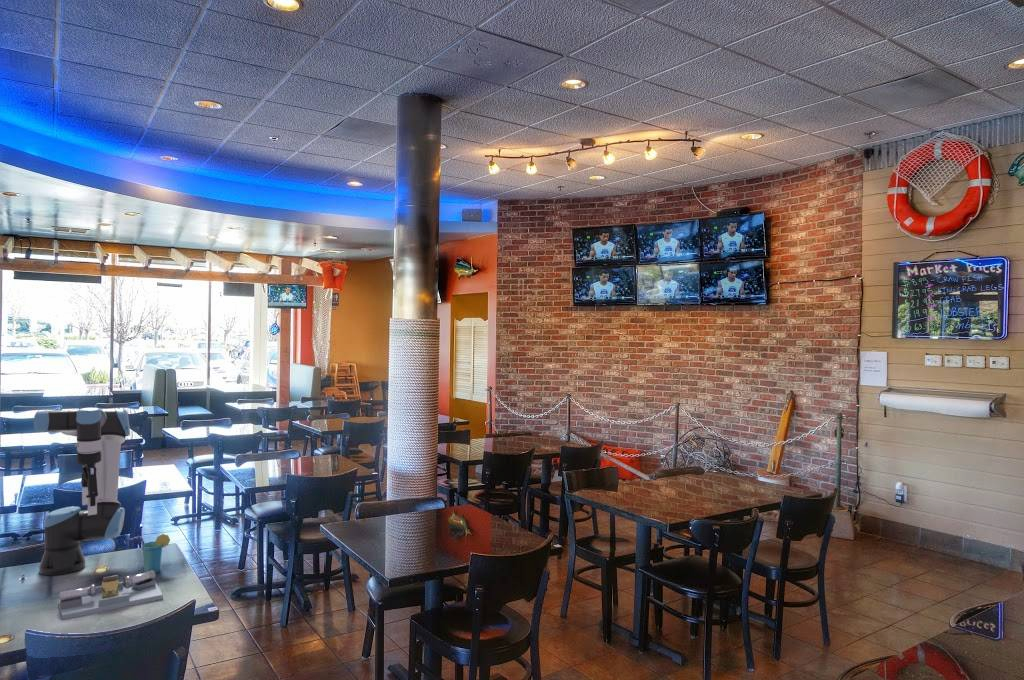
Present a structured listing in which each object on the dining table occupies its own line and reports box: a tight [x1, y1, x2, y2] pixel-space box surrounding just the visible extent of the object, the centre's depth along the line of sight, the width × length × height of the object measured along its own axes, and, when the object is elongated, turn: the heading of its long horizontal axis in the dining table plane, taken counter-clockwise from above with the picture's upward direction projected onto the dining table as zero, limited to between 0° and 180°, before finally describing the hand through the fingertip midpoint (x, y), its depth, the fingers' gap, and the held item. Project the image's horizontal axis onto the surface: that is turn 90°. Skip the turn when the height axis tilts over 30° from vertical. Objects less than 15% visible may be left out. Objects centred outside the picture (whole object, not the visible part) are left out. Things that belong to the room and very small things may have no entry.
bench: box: [57, 581, 164, 620], centre depth 243 cm, size 15×30×4 cm, turn 127°
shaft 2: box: [122, 570, 157, 591], centre depth 252 cm, size 5×10×6 cm, turn 147°
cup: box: [129, 533, 171, 573], centre depth 271 cm, size 14×8×15 cm, turn 129°
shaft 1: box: [59, 583, 96, 602], centre depth 237 cm, size 4×10×4 cm, turn 127°
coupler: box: [101, 574, 120, 599], centre depth 243 cm, size 5×5×7 cm
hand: (89, 509), depth 252 cm, fingers open, 13 cm apart
